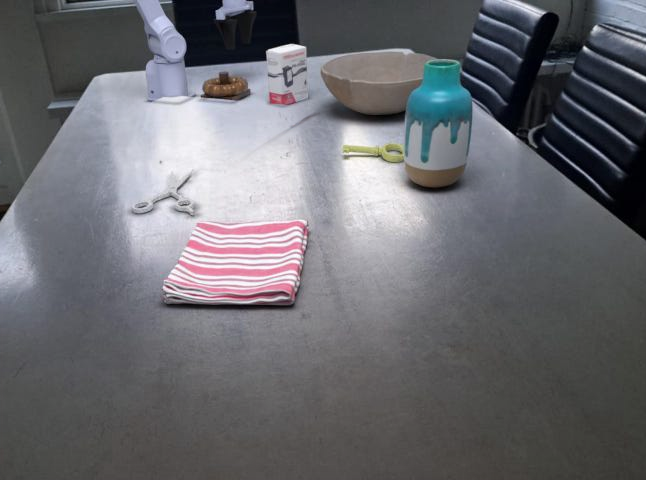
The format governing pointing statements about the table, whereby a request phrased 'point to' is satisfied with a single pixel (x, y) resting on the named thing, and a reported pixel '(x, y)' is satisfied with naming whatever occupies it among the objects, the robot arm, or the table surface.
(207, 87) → the brown beaded ring
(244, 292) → the dish towel
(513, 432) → the table surface
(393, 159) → the key
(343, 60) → the bowl
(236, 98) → the brown peg stand
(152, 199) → the scissors
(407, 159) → the vase
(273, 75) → the ink box
